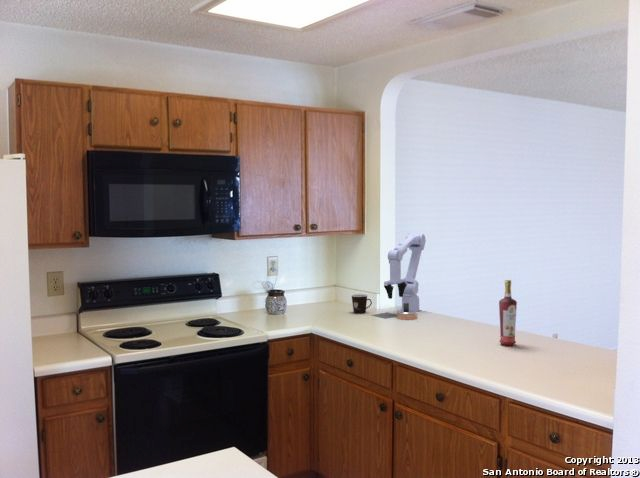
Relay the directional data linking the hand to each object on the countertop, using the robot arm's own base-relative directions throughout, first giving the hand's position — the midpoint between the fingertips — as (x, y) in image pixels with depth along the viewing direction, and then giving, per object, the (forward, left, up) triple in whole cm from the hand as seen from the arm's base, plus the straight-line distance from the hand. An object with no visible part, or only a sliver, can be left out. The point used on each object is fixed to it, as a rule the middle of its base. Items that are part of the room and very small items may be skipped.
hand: (395, 297), depth 336 cm
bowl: (+1, +10, -10) cm, 14 cm away
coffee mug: (+11, -16, -10) cm, 22 cm away
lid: (+1, +9, -7) cm, 12 cm away
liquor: (+5, +77, -10) cm, 78 cm away
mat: (+5, -2, -10) cm, 11 cm away
